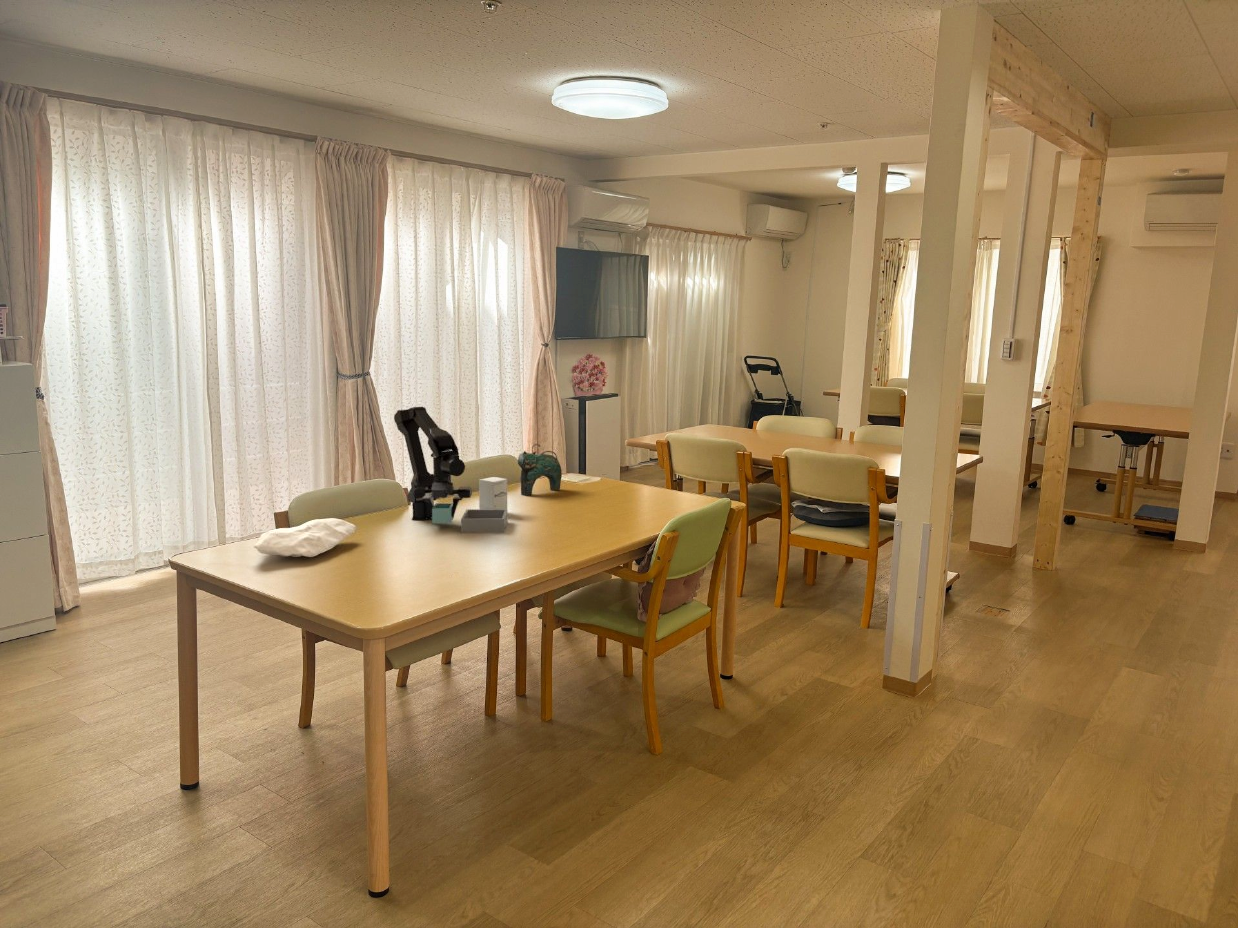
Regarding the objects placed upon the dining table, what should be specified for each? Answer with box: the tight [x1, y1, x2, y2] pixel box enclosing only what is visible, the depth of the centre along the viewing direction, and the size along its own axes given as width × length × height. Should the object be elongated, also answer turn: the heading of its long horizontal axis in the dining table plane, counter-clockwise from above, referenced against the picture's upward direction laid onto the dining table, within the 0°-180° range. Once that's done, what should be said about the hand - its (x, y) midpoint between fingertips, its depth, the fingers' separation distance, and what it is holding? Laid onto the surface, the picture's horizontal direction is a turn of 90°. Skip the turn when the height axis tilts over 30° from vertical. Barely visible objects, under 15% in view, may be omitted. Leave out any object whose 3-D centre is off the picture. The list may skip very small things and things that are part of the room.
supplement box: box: [478, 476, 508, 510], centre depth 315 cm, size 7×7×13 cm
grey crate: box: [460, 508, 509, 533], centre depth 296 cm, size 14×14×4 cm
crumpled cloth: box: [253, 517, 356, 558], centre depth 264 cm, size 24×35×9 cm
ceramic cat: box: [517, 443, 563, 497], centre depth 350 cm, size 20×6×20 cm, turn 132°
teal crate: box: [431, 502, 455, 524], centre depth 296 cm, size 6×8×5 cm
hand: (443, 517), depth 296 cm, fingers closed on teal crate, 6 cm apart
